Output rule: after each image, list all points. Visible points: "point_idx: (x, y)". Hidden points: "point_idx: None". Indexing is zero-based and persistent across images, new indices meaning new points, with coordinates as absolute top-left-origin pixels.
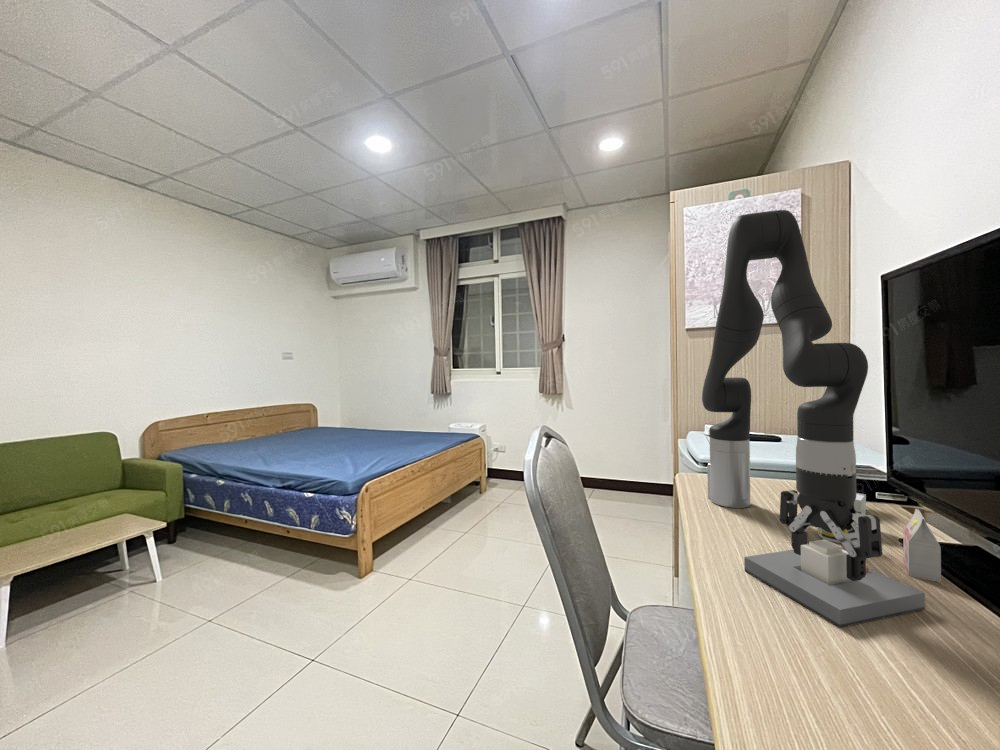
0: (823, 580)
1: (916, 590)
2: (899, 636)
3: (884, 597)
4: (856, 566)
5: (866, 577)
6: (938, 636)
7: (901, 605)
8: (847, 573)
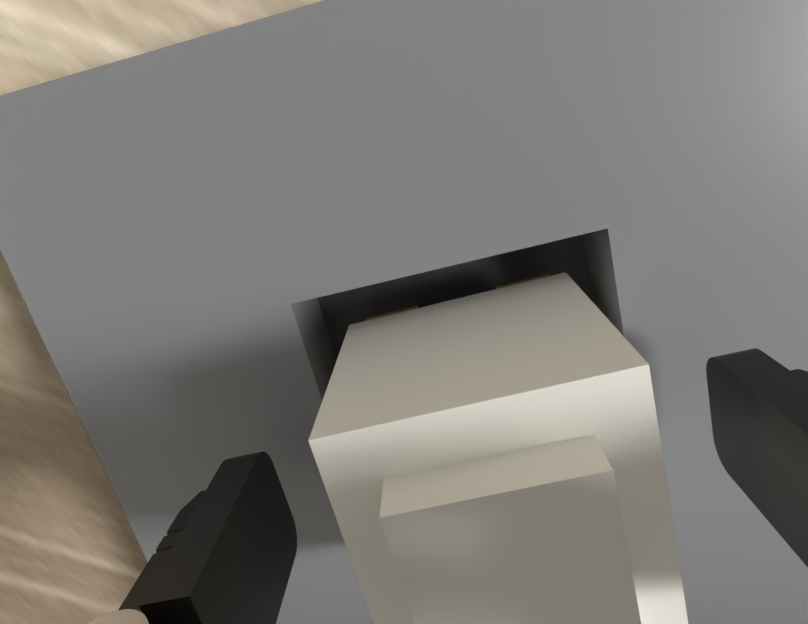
0: (383, 323)
1: None
2: (8, 381)
3: (158, 530)
4: (162, 563)
5: None
6: (45, 546)
7: None
8: (244, 471)
